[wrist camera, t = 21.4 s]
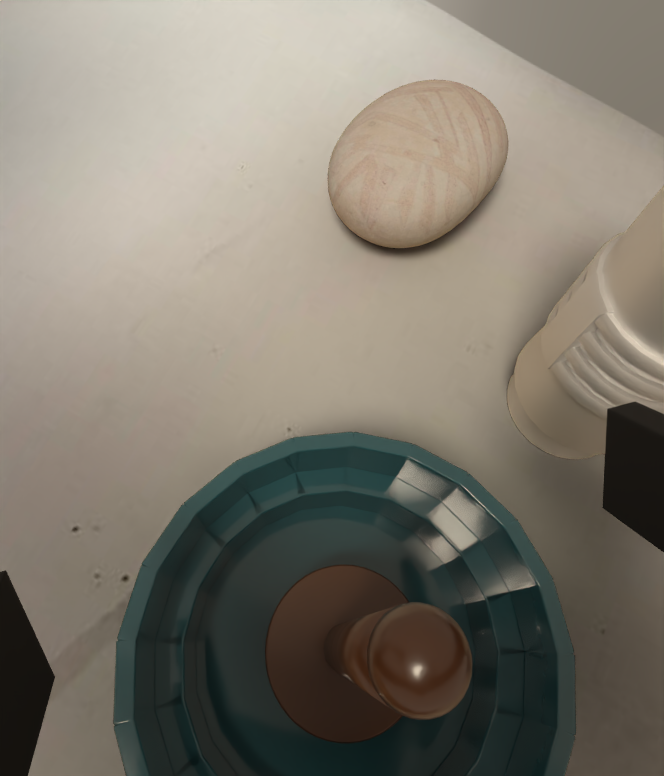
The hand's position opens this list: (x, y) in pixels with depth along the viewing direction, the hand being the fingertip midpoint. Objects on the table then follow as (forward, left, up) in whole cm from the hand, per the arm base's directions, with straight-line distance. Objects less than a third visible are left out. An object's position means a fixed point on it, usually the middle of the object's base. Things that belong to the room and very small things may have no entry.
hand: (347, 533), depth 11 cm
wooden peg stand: (+2, -2, -12) cm, 12 cm away
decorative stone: (-6, +23, -13) cm, 27 cm away
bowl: (+2, -2, -13) cm, 13 cm away
